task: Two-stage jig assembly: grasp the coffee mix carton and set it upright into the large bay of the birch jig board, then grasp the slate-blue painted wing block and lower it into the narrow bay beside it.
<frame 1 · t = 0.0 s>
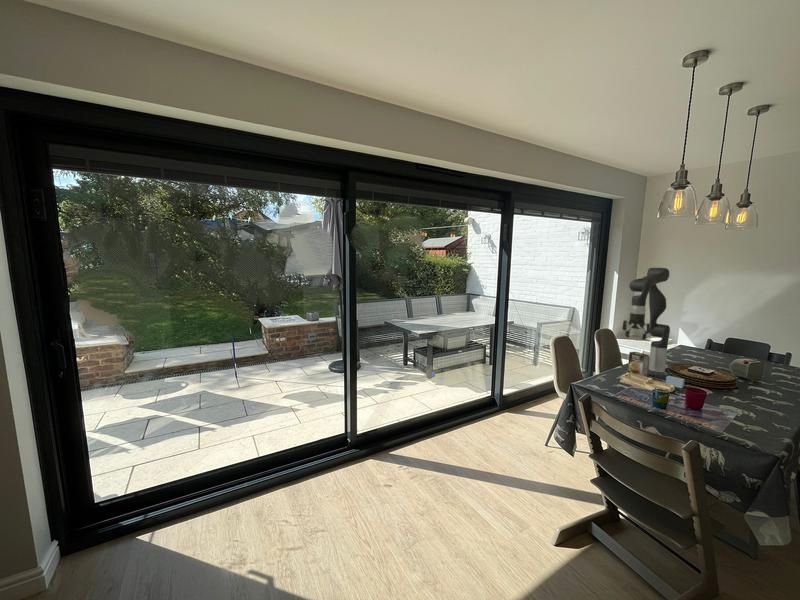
hand: (635, 338, 205), 29 cm above the table, fingers open, 8 cm apart
coffee box: (636, 377, 221), on the table
wing block: (674, 385, 206), on the table
jig: (646, 385, 205), on the table
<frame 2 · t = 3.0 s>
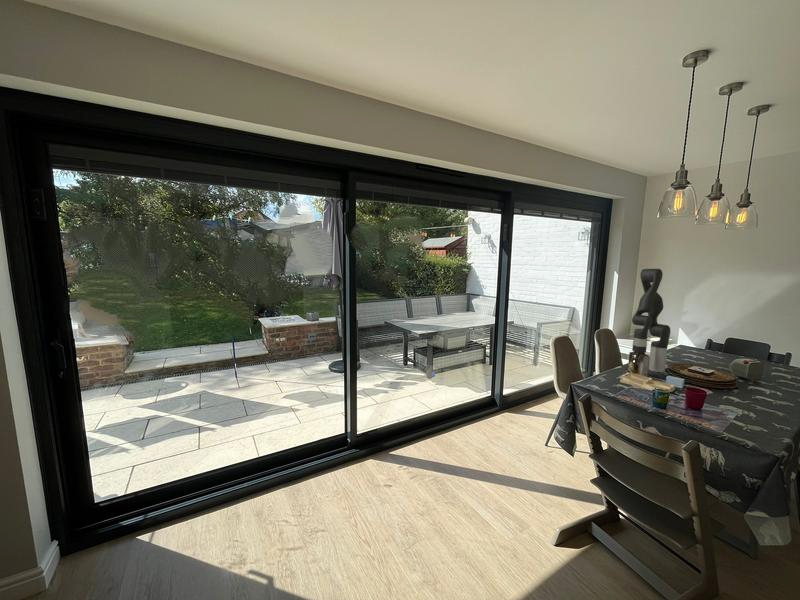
hand: (637, 368, 221), 5 cm above the table, fingers closed on coffee box, 7 cm apart
coffee box: (636, 377, 221), on the table, touching gripper
everything else where it was.
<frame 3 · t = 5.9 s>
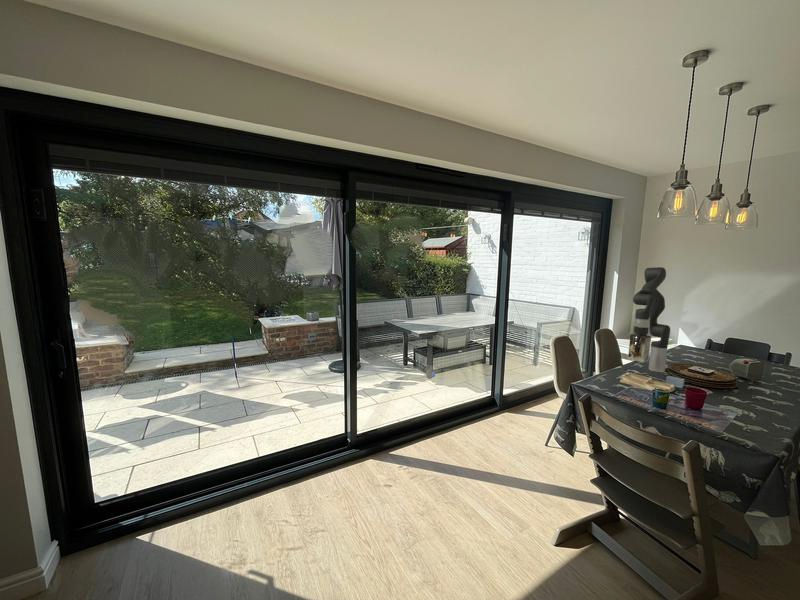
hand: (639, 351, 207), 20 cm above the table, fingers closed on coffee box, 7 cm apart
coffee box: (638, 360, 208), point 15 cm above the table, touching gripper
everything else where it was.
when the fingers open (7 cm above the table, at t = 8.8 s): coffee box stays where it is, resting on jig.
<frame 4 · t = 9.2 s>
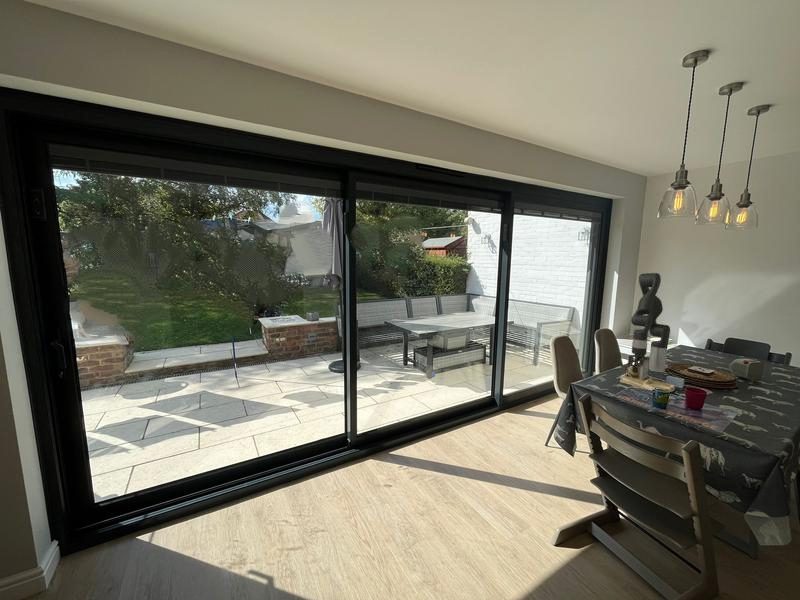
hand: (637, 371, 209), 8 cm above the table, fingers open, 8 cm apart
coffee box: (636, 381, 210), point 1 cm above the table, touching jig
everything else where it was.
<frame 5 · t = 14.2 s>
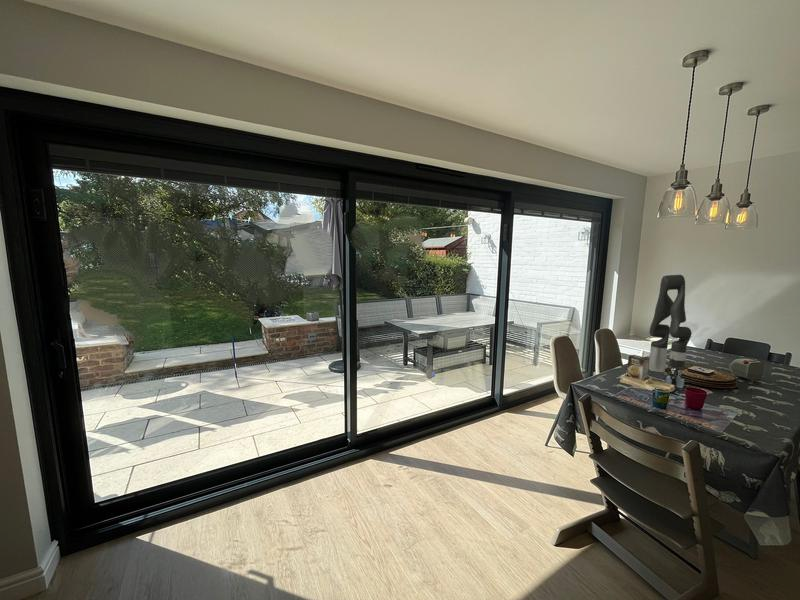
hand: (674, 385, 206), 0 cm above the table, fingers closed on wing block, 4 cm apart
wing block: (674, 385, 206), on the table, touching gripper
everything else where it was.
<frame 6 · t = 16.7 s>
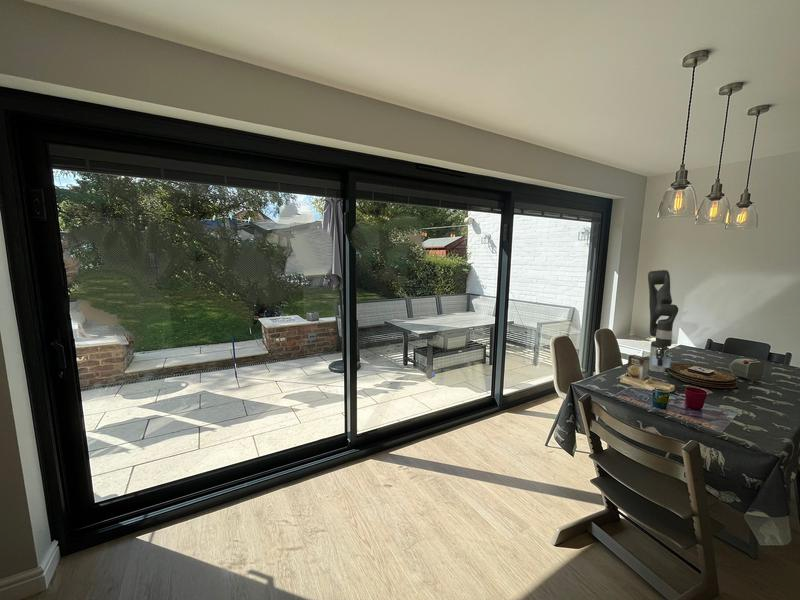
hand: (661, 365, 198), 15 cm above the table, fingers closed on wing block, 4 cm apart
wing block: (661, 365, 198), point 15 cm above the table, touching gripper
everything else where it was.
when the fingers open (3 cm above the table, at t = 19.2 s): wing block drops 1 cm, resting on jig.
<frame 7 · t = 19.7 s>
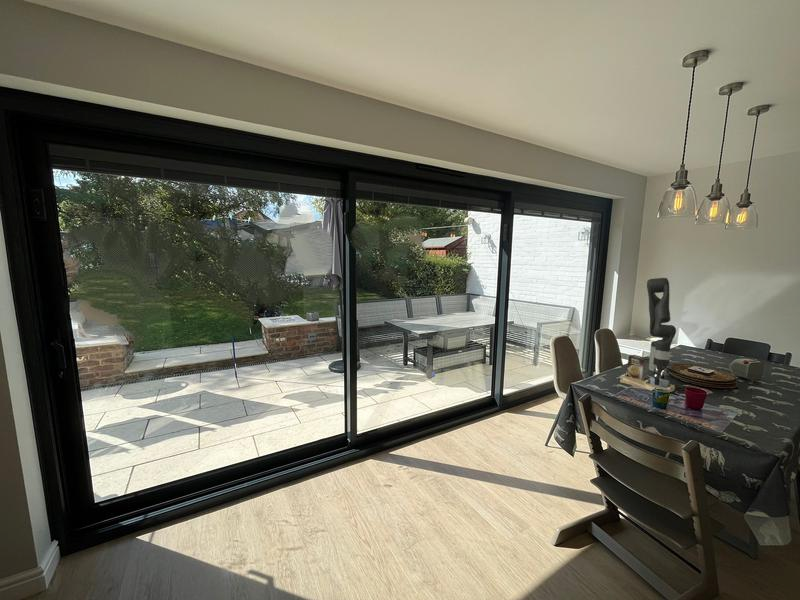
hand: (659, 383, 200), 3 cm above the table, fingers open, 8 cm apart
wing block: (658, 387, 200), point 1 cm above the table, touching jig
everything else where it was.
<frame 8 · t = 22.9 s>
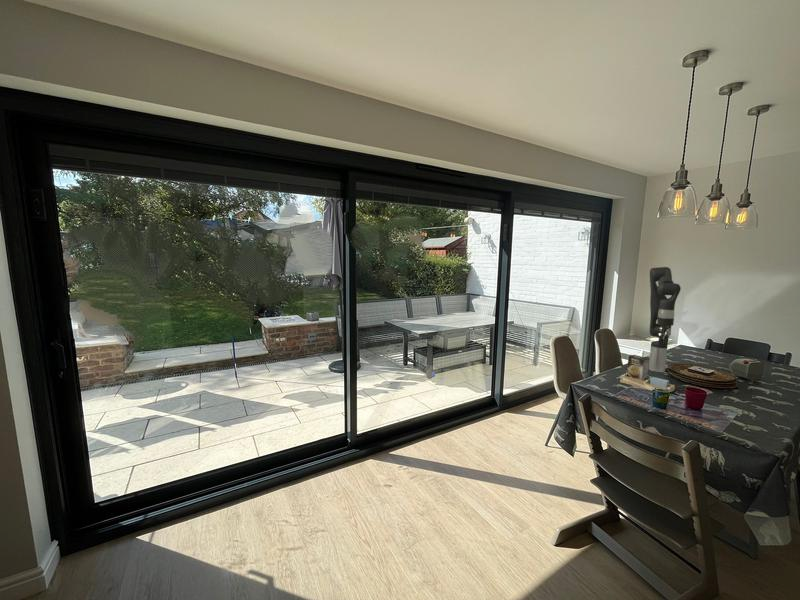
hand: (663, 343, 197), 28 cm above the table, fingers open, 8 cm apart
nothing on the table moved.
at the end: coffee box inside the target area on the jig (0.2 cm from its centre), point 0.8 cm above the jig's base; coffee box tilted 0°; wing block inside the target area on the jig (0.1 cm from its centre), point 1.0 cm above the jig's base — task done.
